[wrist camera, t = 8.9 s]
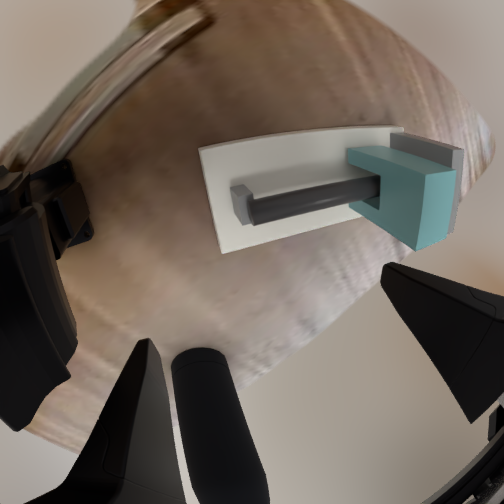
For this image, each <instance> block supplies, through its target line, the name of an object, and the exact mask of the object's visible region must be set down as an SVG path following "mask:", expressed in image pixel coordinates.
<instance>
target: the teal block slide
mask: <svg viewBox="0 0 504 504" xmlns="http://www.w3.org/2000/svg"><path fill="white" fill-rule="evenodd" d="M368 146H385V147H389V148H392V149H396V150H399V151H402V152H406V153H409V154H412V155H415V156H418V157H421V158H424V159H427V160H430V161H433V162H436V163H439V164H441V165H444V166H447V167H449V168H452V169H455V170H456V180H455V189H454V196H453V203H452V210H451V216H450V221H449V226H448V231H447V234H450V233H452V232H453V230H454V225H455V219H456V214H457V209H458V203H459V196H460V189H461V181H462V171H463V159H464V149H461V148H458V147H455V146H452V145H449V144H445V143H442V142H438V141H435V140H431V139H427V138H424V137H420V136H416V135H411V134H407V133H404V127H399V126H394V125H372V126H348V127H332V128H320V129H310V130H300V131H292V132H284V133H276V134H269V135H263V136H256V137H250V138H245V139H239V140H234V141H228V142H223V143H218V144H214V145H209V146H204V147H200V148H198V151H199V156H200V161H201V166H202V171H203V176H204V181H205V186H206V191H207V195H208V200H209V205H210V209H211V214H212V219H213V223H214V228H215V232H216V237H217V241H218V245H219V248H220V250H221V253H222V254H225V253H228V252H232V251H236V250H239V249H243V248H247V247H251V246H254V245H258V244H262V243H265V242H269V241H273V240H276V239H280V238H284V237H288V236H291V235H295V234H299V233H303V232H306V231H310V230H314V229H318V228H321V227H325V226H329V225H333V224H336V223H340V222H344V221H348V220H352V219H355V218H359V217H363V216H362V215H360V214H359V213H357V212H356V211H354V210H352V209H351V208H349V203H352V202H356V201H361V200H365V199H370V198H374V197H379V196H380V185H381V176H380V175H378V174H375V173H373V172H370V171H368V170H365V169H363V168H360V167H357V166H355V165H352V164H349V163H348V148H358V147H368Z"/></svg>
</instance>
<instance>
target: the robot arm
mask: <svg viewBox="0 0 504 504" xmlns="http://www.w3.org/2000/svg"><path fill="white" fill-rule="evenodd" d="M63 163H65V164H66V165H67V168H66V169H64V168H63ZM89 214H90V212H89V209H88V206H87V203H86V200H85V197H84V194H83V191H82V188H81V185H80V183H79V182H77V181H76V178H75V175H74V171H73V168H72V164H71V162H70V160H68V159H63V160H61V161H59V162H56V163H54V164H52V165H50V166H48V167H46V168H44V169H41V170H39V171H37V172H35V173H33V174H31V175H30V172H26V173H23V172H22V171H21V172H15V173H12V172H9V171H8V170H7V169H6V168H5V167H4V165H1V166H0V419H1V420H2V421H3V422H4V423H5V424H6V425H8V426H9V427H10V428H11V429H12V430H13V431H16V432H18V431H20V430H21V429H23V428H24V427H26V426H27V425H28V424H30V422H31V421H32V419H33V417H34V415H35V413H36V411H37V410H38V408H39V406H40V404H41V403H42V401H43V400H44V398H45V397H46V396H47V395H48V394H49V393H50V392H51V391H52V390H53V389H54V388H55V387H56V386H58V385H60V384H61V383H63V382H65V381H67V380H68V379H70V377H71V374H70V372H69V371H68V369H67V367H66V365H67V363H68V362H69V360H70V359H71V357H72V356H73V354H74V353H75V350H76V347H77V344H78V340H77V338H76V336H77V329H76V321H75V318H74V316H73V313H72V310H71V307H70V305H69V302H68V299H67V296H66V293H65V290H64V287H63V284H62V280H61V277H60V274H59V270H58V267H57V263H56V260H58V259H60V258H61V256H62V254H63V253H64V251H65V250H66V248H68V247H71V246H74V245H77V244H80V243H83V242H86V241H89V240H91V239H92V237H93V235H94V231H93V228H92V225H91V223H90V220H89V217H88V216H89ZM85 232H89V233H90V235H86V234H85ZM380 283H381V286H382V288H383V290H384V291H385V293H386V294H387V296H388V298H389V299H390V301H391V303H392V304H393V306H394V308H395V309H396V311H397V312H398V314H399V316H400V317H401V318H402V320H403V321H404V322H405V324H406V325H407V326H408V328H409V329H410V331H411V332H412V333H413V334H414V336H415V338H416V339H417V340H418V342H419V343H420V345H421V346H422V348H423V349H424V350H425V352H426V353H427V355H428V356H429V357H430V359H431V361H432V362H433V364H434V365H435V367H436V368H437V370H438V371H439V373H440V374H441V376H442V377H443V379H444V381H445V382H446V383H447V385H448V387H449V388H450V390H451V392H452V394H453V395H454V397H455V399H456V400H457V402H458V403H459V405H460V407H461V409H462V410H463V412H464V414H465V415H466V417H467V419H468V421H469V422H470V424H472V423H473V422H474V421H475V420H476V419H477V418H478V417H480V416H481V415H482V414H483V413H484V412H485V411H486V410H487V409H488V408H489V407H490V406H491V405H492V404H493V403H494V402H495V401H496V400H497V401H498V402H499V403H500V404H499V405H498V407H497V408H496V409H495V410H494V411H493V412H492V413H491V415H490V416H489V430H488V441H489V443H488V444H487V446H485V448H484V449H483V450H482V451H481V452H480V453H479V454H478V455H477V456H476V457H475V458H474V459H473V460H472V461H471V462H470V463H469V464H468V465H467V466H466V467H465V468H464V469H463V470H462V471H460V472H459V473H458V474H457V475H456V476H455V477H454V478H453V479H452V480H450V481H449V482H448V483H447V484H446V485H445V486H443V487H442V488H441V489H440V490H438V491H437V492H436V493H434V494H433V495H432V496H431V497H429V498H428V499H426V500H425V501H424V502H422V503H421V504H462V503H463V502H465V501H466V499H468V498H469V497H470V496H471V495H472V494H473V495H474V497H475V498H473V499H472V500H470V501H469V502H467V503H466V504H504V296H500V295H497V294H492V293H489V292H486V291H482V290H479V289H476V288H473V287H470V286H466V285H464V284H461V283H457V282H455V281H452V280H449V279H446V278H442V277H439V276H436V275H433V274H430V273H427V272H424V271H421V270H417V269H414V268H411V267H408V266H404V265H401V264H398V263H395V262H390V263H387V264H385V265H384V266H383V268H382V274H381V280H380ZM185 501H186V500H185V495H184V491H183V486H182V481H181V476H180V471H179V466H178V460H177V455H176V449H175V442H174V435H173V428H172V420H171V412H170V404H169V396H168V391H167V387H166V382H165V377H164V373H163V368H162V363H161V358H160V355H159V352H158V351H157V349H156V347H155V346H154V344H153V342H152V340H151V339H150V338H146V339H142V340H139V341H138V342H137V344H136V346H135V347H134V349H133V351H132V353H131V355H130V357H129V359H128V360H127V362H126V364H125V366H124V368H123V370H122V372H121V374H120V376H119V378H118V380H117V382H116V383H115V385H114V387H113V389H112V391H111V393H110V395H109V397H108V399H107V401H106V404H105V406H104V408H103V410H102V412H101V414H100V416H99V419H98V420H97V422H96V424H95V426H94V428H93V430H92V432H91V435H90V437H89V439H88V441H87V442H86V444H85V446H84V448H83V450H82V451H81V453H80V455H79V457H78V458H77V460H76V462H75V463H74V465H73V467H72V469H71V470H70V472H69V474H68V476H67V477H66V479H65V480H64V481H63V483H62V484H61V485H59V486H58V487H57V488H56V489H53V490H51V491H49V492H47V493H46V494H43V495H41V496H39V497H37V498H35V499H33V500H31V501H28V502H26V503H24V504H187V503H186V502H185Z"/></svg>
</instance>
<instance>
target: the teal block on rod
mask: <svg viewBox="0 0 504 504" xmlns="http://www.w3.org/2000/svg"><path fill="white" fill-rule="evenodd" d="M348 163H349V164H352V165H355V166H357V167H360V168H363V169H365V170H368V171H370V172H373V173H375V174H378V175H380V176H381V185H380V196H379V197H374V198H370V199H365V200H361V201H356V202H352V203H349V208H351V209H352V210H354V211H356V212H357V213H359V214H360V215H362V216H364V217H365V218H367V219H368V220H370V221H371V222H373V223H375V224H376V225H378V226H379V227H381V228H382V229H384V230H385V231H387V232H388V233H390V234H391V235H393V236H394V237H396V238H397V239H398V240H400V241H401V242H403V243H404V244H406V245H407V246H408V247H410V248H411V249H413V250H414V251H417V250H420V249H422V248H425V247H427V246H429V245H432V244H434V243H436V242H439V241H441V240H443V239H445V238H446V236H447V231H448V226H449V221H450V216H451V210H452V203H453V196H454V189H455V180H456V170H455V169H452V168H449V167H447V166H444V165H441V164H439V163H436V162H433V161H430V160H427V159H424V158H421V157H418V156H415V155H412V154H409V153H406V152H402V151H399V150H396V149H392V148H389V147H385V146H368V147H358V148H348Z"/></svg>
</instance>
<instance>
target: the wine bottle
mask: <svg viewBox="0 0 504 504" xmlns="http://www.w3.org/2000/svg"><path fill="white" fill-rule="evenodd" d="M171 371H172V379H173V388H174V395H175V402H176V409H177V415H178V421H179V427H180V432H181V438H182V444H183V449H184V454H185V458H186V463H187V468H188V472H189V476H190V481H191V485H192V488H193V490H194V492H195V495H196V497H197V499H198V501H199V503H200V504H270V497H269V490H268V484H267V479H266V474H265V471H264V469H263V466H262V464H261V461H260V458H259V456H258V453H257V450H256V448H255V445H254V442H253V439H252V437H251V434H250V431H249V428H248V425H247V422H246V419H245V416H244V414H243V411H242V408H241V405H240V401H239V398H238V396H237V392H236V389H235V386H234V383H233V380H232V377H231V373H230V370H229V367H228V364H227V361H226V359H225V357H224V355H222V354H221V353H220V352H219V351H216V350H213V349H208V348H196V349H191V350H188V351H185V352H183V353H181V354H179V355H178V356H177V357H176V358H175V359H174V360H173V362H172V365H171Z"/></svg>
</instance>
